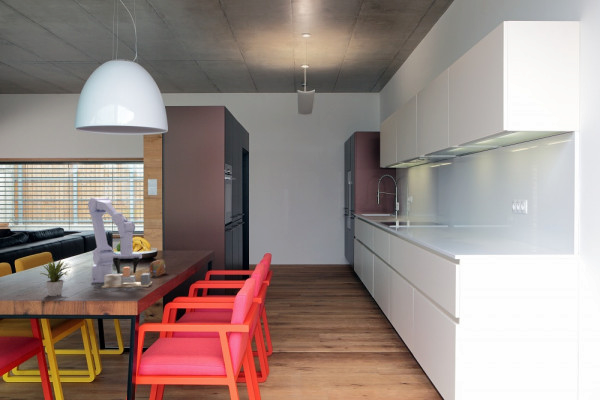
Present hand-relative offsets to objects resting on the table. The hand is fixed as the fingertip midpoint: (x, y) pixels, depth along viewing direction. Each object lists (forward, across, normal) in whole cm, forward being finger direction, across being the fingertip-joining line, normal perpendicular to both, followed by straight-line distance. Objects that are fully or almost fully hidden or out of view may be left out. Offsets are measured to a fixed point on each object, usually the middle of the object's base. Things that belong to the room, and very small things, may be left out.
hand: (126, 272), depth 237 cm
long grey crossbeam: (+5, -3, 0) cm, 6 cm away
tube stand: (+6, 0, 0) cm, 6 cm away
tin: (+6, +10, +30) cm, 32 cm away
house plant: (+6, -26, -21) cm, 34 cm away
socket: (+6, +9, 0) cm, 11 cm away
